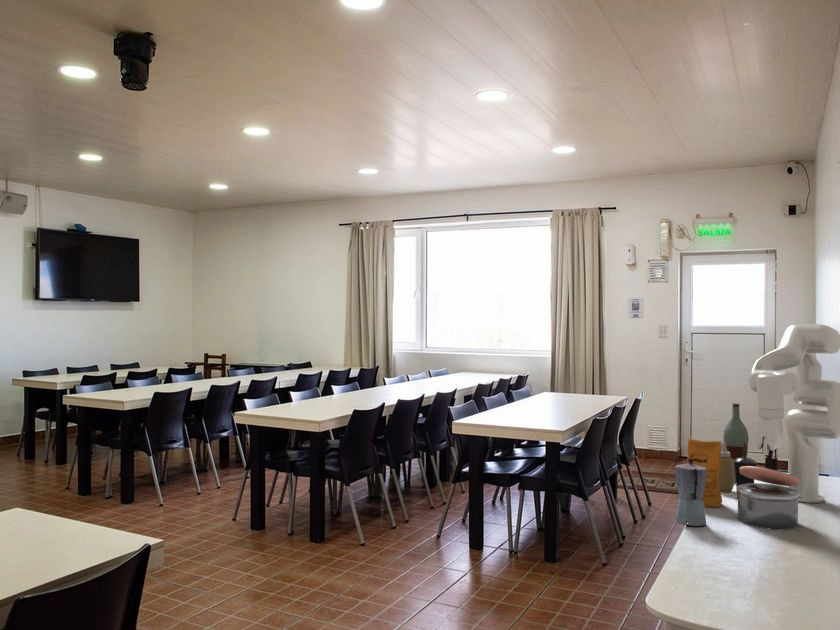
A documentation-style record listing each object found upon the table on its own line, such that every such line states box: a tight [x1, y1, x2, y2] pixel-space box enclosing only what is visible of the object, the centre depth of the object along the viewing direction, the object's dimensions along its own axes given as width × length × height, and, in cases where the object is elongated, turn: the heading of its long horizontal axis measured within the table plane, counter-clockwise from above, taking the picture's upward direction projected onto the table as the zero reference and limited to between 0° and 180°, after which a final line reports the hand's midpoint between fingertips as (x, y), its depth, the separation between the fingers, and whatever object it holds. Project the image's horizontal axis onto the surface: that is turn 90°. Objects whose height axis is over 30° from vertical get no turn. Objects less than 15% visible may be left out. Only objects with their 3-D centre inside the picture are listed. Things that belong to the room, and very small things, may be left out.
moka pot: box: [674, 458, 707, 527], centre depth 221 cm, size 10×15×20 cm, turn 174°
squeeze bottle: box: [720, 441, 736, 493], centre depth 263 cm, size 8×8×18 cm
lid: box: [739, 466, 799, 487], centre depth 225 cm, size 17×17×3 cm
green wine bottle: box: [722, 403, 750, 483], centre depth 280 cm, size 9×9×30 cm
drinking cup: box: [733, 442, 758, 500], centre depth 251 cm, size 8×8×20 cm
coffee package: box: [686, 438, 723, 508], centre depth 245 cm, size 10×12×22 cm
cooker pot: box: [736, 482, 799, 530], centre depth 224 cm, size 18×18×10 cm
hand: (771, 470), depth 227 cm, fingers closed
